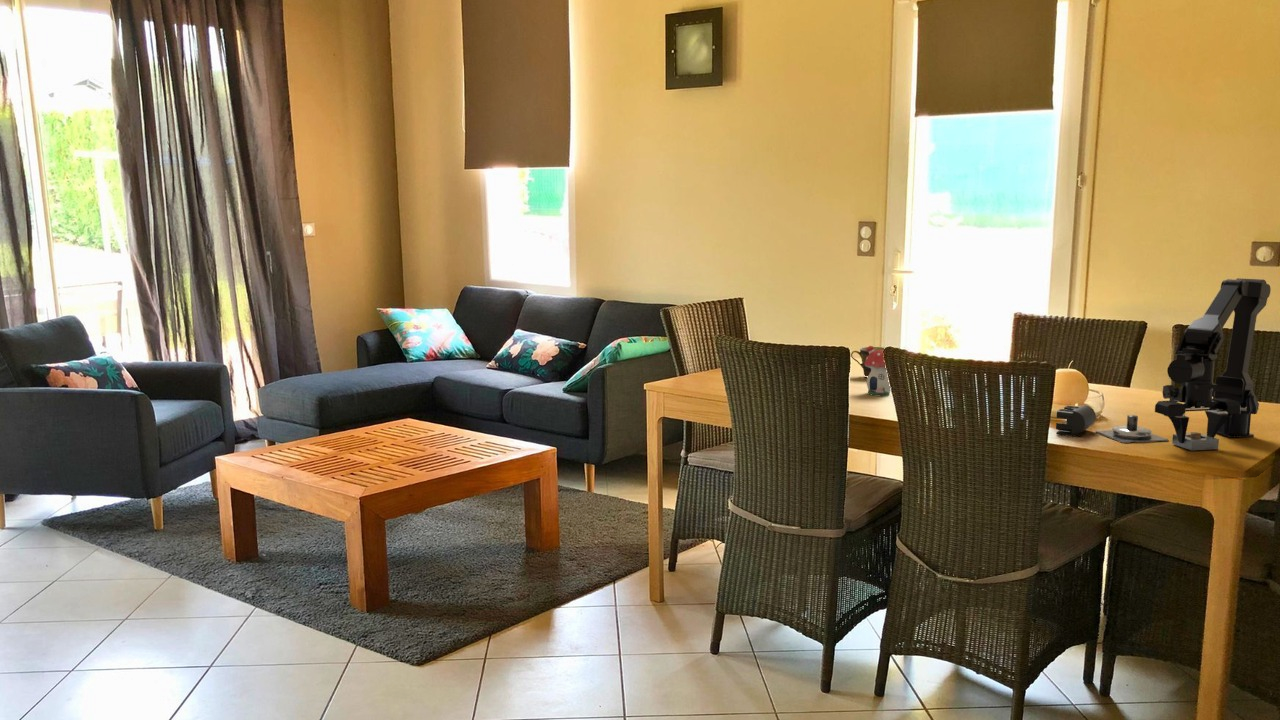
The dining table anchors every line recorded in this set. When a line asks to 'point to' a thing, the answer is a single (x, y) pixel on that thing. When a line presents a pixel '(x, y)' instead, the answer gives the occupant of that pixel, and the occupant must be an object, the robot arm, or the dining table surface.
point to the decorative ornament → (877, 373)
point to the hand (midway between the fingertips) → (1195, 442)
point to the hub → (1131, 432)
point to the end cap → (1075, 420)
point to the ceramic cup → (864, 355)
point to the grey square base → (1197, 442)
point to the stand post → (1195, 435)
